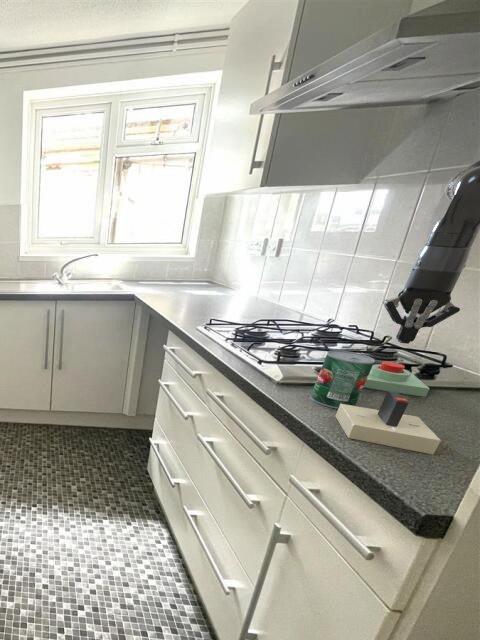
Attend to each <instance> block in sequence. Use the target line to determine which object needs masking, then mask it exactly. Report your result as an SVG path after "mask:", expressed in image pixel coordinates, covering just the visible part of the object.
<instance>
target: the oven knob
mask: <svg viewBox="0 0 480 640" xmlns="http://www.w3.org/2000/svg"><path fill="white" fill-rule="evenodd" d="M408 405H409V401H408V400H407V398H404V397H403V395H401V393H397V392H390V391H386V394H385V396H384V399H383V400H382V403H381V405H380V407H379V409H378V410H379V411H378V415H379V417H380V418H381V419H382V420H383V421H384V423H385V424H386V425H390V426H396V427H397V426H398V424H399V422H400V420H401V418H402V416H403V414H404V415H405V411H406V410H407V408H408Z"/></svg>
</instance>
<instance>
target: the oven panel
mask: <svg viewBox="0 0 480 640" xmlns="http://www.w3.org/2000/svg"><path fill="white" fill-rule="evenodd" d="M378 411H379V409H375V408H369V407H364V406H357V405H355V406H351V405H346V404H340V406H339V408H338V409H337V411H336V413H335V418H336V420H337V421H338V423H339V425H340V427H341V429H342V430H343V432H344V433H345V435H346V436H347V438H348V439H352V440H356V441H362V442H367V443H372V444H376V445H382V446H387V447H391V448H397V449H403V450H407V451H412V452H418V453H422V454H428V455H431V456H432V455H435V453H436V451H437V449H438V447H439V445H440V444H441V442H442V440H441V439H440V438H439V436H438V435H436V433H435V432H434V431H433V430H432V429H431V428H429V426H428V425H426V423H425V422H424V421H423V420H422V419H421V418H420V417H419V416H415V415H409V414H405V413H404V414H403V416H402V418H401V420H400V422H399V424H398V426H397V427H396V426H390V425H386V424H385V423H384V421H383V420H382V419H381V418H380V417H379V415H378Z"/></svg>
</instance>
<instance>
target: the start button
mask: <svg viewBox="0 0 480 640" xmlns="http://www.w3.org/2000/svg"><path fill="white" fill-rule="evenodd" d="M380 364H381V366H380V369H382V370H384V371H388V372H393V373H402V372H403V370H404V369H405V364H401V363H398V362H394V361H382V362H381V363H380Z"/></svg>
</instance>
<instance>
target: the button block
mask: <svg viewBox="0 0 480 640" xmlns="http://www.w3.org/2000/svg"><path fill="white" fill-rule="evenodd" d="M381 364H382V363H380V364H377V363H376V364H373V366H372V369H371V371H370V373H369V375H368V378H367V380H366V382H365V384H364V387H363V389H364V388H366V389H371V390H377V391H378V390H379V391H383V392H384V391H385V392H388V391H390V392H397V393H399V394H404V395H410V396H417V397H422V398H426V397H427V396H428V393H429V392H430V387H429V386H427V384H425V383H424V382H423V381H422V380H420V379H419V378H418V377H417V376H416V375H414V374H413V373H412V372H411V371H410V370H408V369H405V368H404V370H403V372H402V373H393V372H388V371H384V370H382V369H380V366H381Z"/></svg>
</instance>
